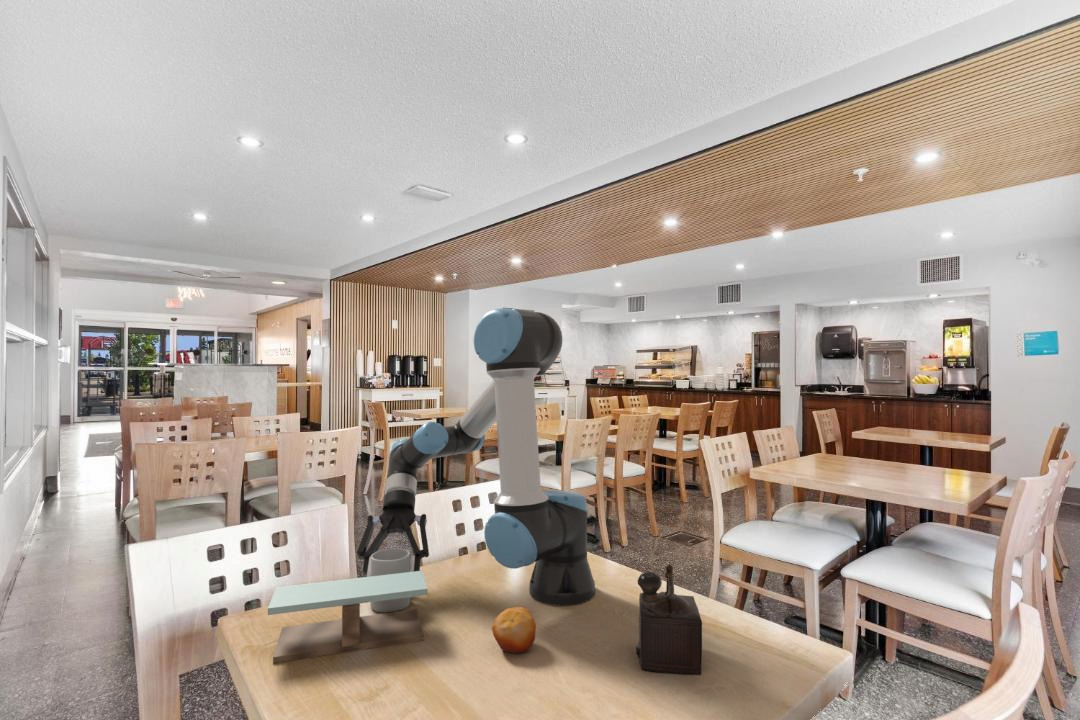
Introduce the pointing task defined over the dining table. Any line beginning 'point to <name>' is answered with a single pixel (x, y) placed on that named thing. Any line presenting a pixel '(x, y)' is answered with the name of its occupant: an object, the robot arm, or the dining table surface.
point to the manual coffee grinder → (668, 628)
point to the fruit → (514, 630)
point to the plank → (347, 592)
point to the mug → (390, 564)
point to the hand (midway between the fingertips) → (389, 587)
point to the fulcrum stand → (347, 634)
